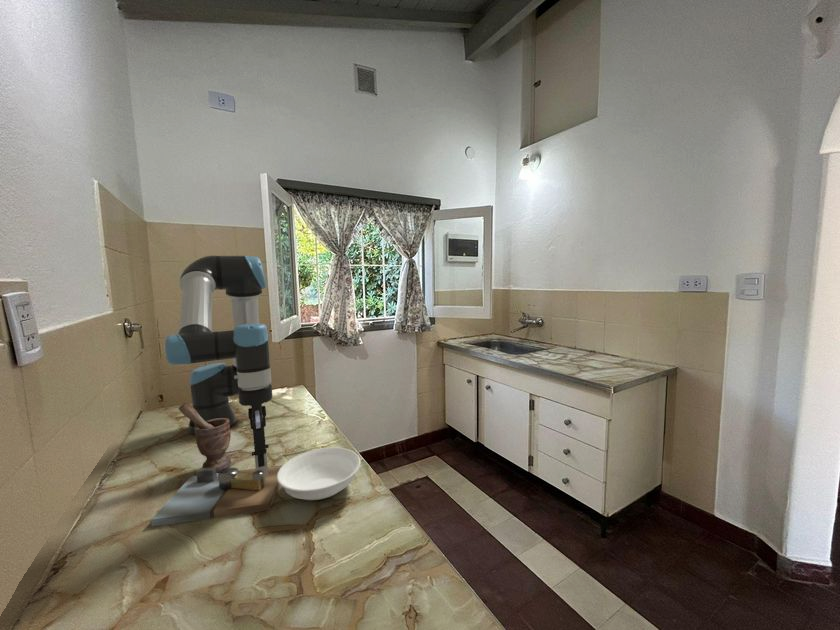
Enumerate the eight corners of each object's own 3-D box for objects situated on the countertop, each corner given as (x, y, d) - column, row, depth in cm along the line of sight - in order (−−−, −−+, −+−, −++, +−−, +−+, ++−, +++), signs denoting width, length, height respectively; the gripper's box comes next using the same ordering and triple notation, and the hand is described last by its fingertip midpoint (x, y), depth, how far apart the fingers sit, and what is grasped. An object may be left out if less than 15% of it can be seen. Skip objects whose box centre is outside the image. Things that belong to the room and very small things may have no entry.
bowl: (317, 530, 69) (315, 501, 68) (260, 500, 80) (258, 475, 79) (377, 481, 86) (376, 457, 85) (324, 462, 96) (323, 441, 96)
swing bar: (214, 488, 82) (213, 474, 82) (228, 478, 86) (227, 465, 86) (257, 492, 80) (256, 478, 79) (269, 482, 84) (268, 468, 84)
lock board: (191, 482, 89) (190, 465, 88) (286, 470, 93) (284, 454, 92) (151, 526, 72) (149, 506, 71) (269, 510, 76) (267, 490, 76)
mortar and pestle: (186, 483, 88) (178, 410, 86) (184, 470, 95) (177, 402, 93) (235, 468, 95) (229, 400, 93) (230, 456, 102) (225, 393, 100)
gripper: (238, 382, 87) (246, 468, 89) (237, 395, 75) (245, 494, 77) (270, 377, 90) (276, 460, 92) (273, 390, 79) (280, 484, 81)
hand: (262, 476), depth 85 cm, fingers closed
